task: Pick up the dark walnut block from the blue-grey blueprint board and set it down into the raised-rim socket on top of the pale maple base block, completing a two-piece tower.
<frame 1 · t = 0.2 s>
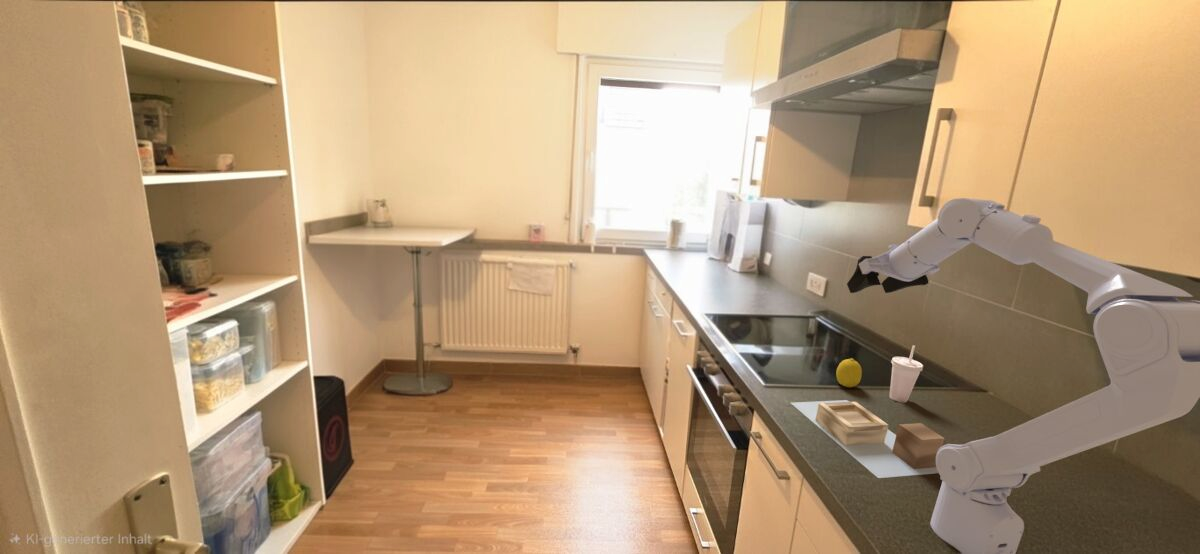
hand: (867, 288, 89), 31 cm above the worktop, tool tilted 45°, fingers open, 7 cm apart
walnut block: (913, 459, 89), point 1 cm above the worktop, touching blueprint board
smoothie: (898, 399, 115), on the worktop
socket base: (848, 431, 97), resting on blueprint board
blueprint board: (859, 436, 96), on the worktop
lemon: (845, 388, 118), on the worktop
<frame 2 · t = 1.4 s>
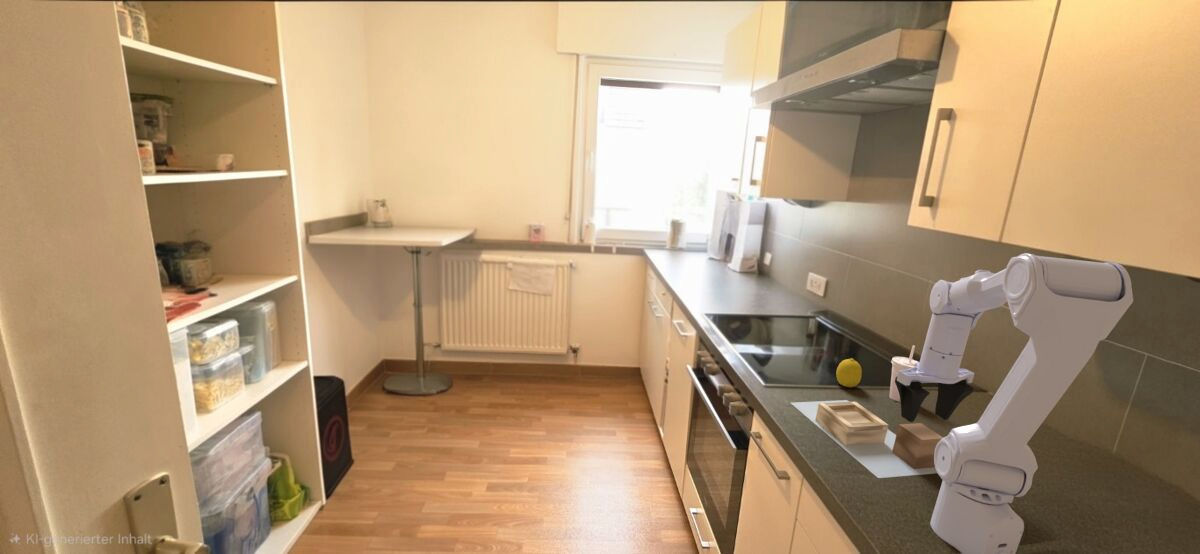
hand: (924, 417, 86), 9 cm above the worktop, tool pointing down, fingers open, 7 cm apart
nothing on the worktop moved.
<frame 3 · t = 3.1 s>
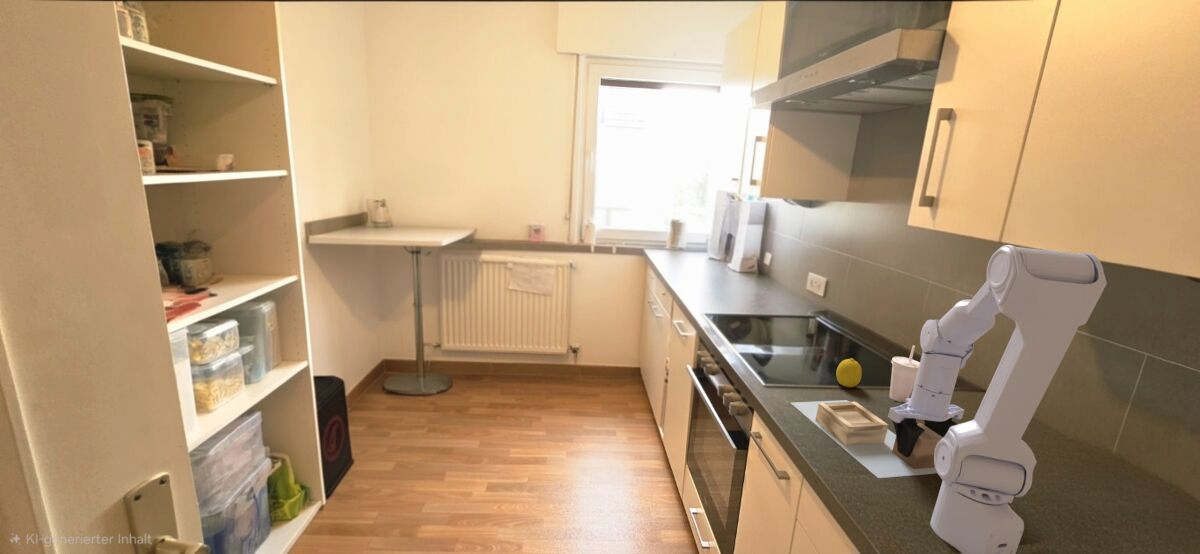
hand: (915, 453, 88), 2 cm above the worktop, tool pointing down, fingers closed on walnut block, 5 cm apart
walnut block: (913, 459, 89), point 1 cm above the worktop, touching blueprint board, gripper
everything else where it was.
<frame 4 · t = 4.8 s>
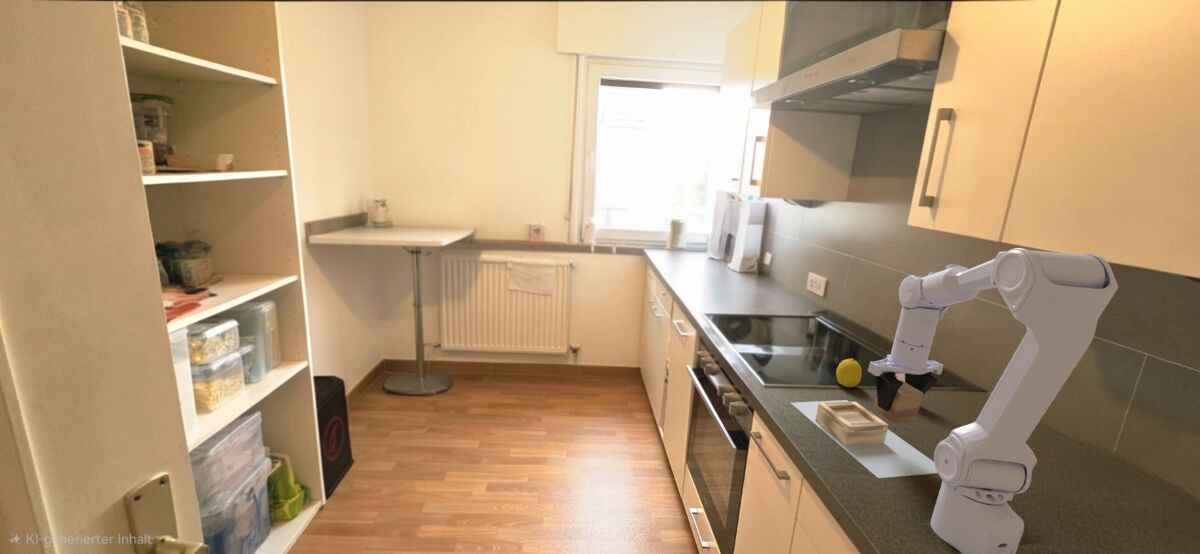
hand: (895, 407, 90), 9 cm above the worktop, tool pointing down, fingers closed on walnut block, 5 cm apart
walnut block: (893, 415, 90), point 8 cm above the worktop, touching gripper
everything else where it was.
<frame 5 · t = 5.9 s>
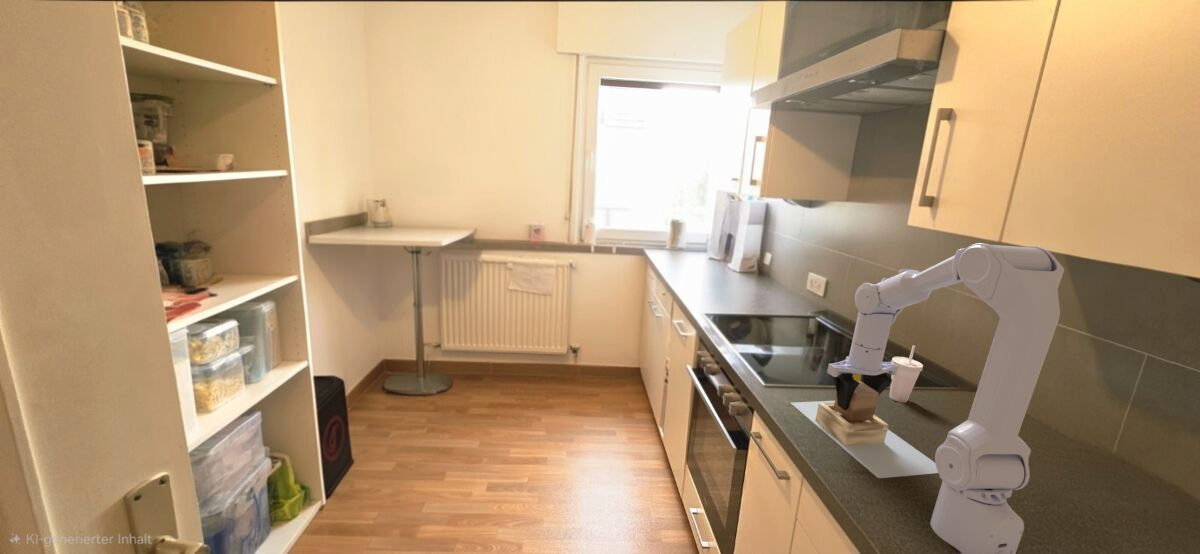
hand: (854, 406, 95), 6 cm above the worktop, tool pointing down, fingers closed on walnut block, 5 cm apart
walnut block: (852, 413, 96), point 5 cm above the worktop, touching gripper
everything else where it was.
when the fingers open (6 cm above the worktop, at t = 6.8 s): walnut block stays where it is, resting on socket base.
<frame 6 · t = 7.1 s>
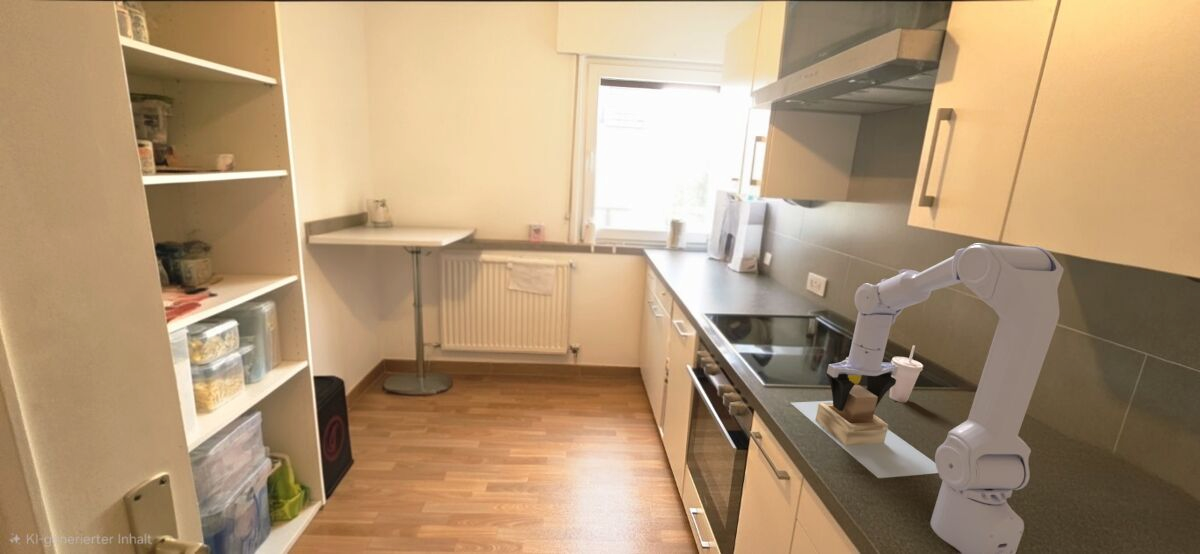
hand: (854, 407, 95), 6 cm above the worktop, tool pointing down, fingers open, 7 cm apart
walnut block: (851, 418, 96), point 4 cm above the worktop, touching socket base
everything else where it was.
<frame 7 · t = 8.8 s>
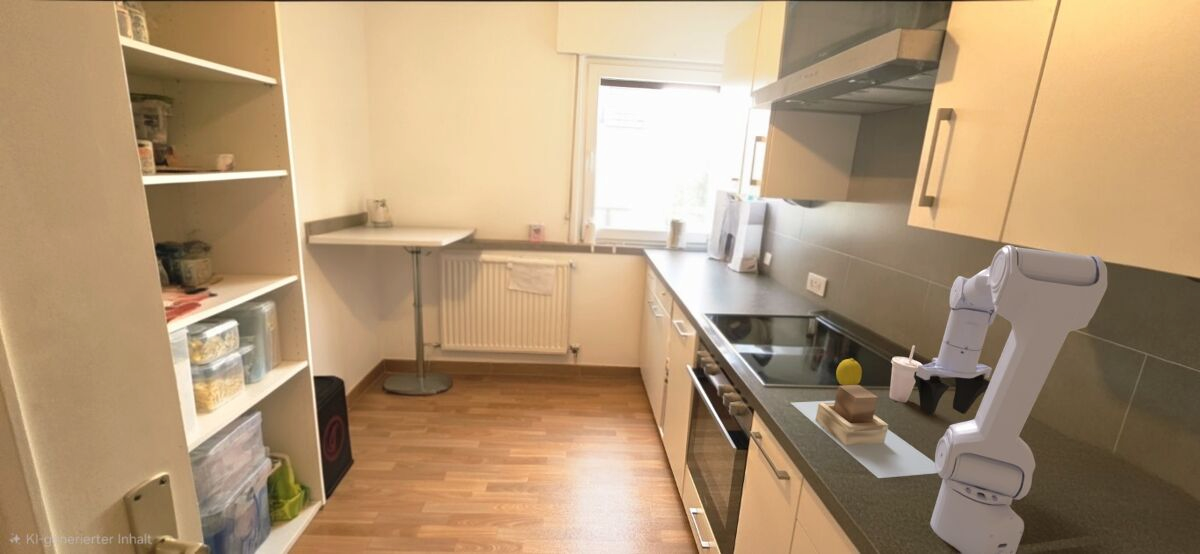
hand: (942, 412, 88), 10 cm above the worktop, tool pointing down, fingers open, 7 cm apart
nothing on the worktop moved.
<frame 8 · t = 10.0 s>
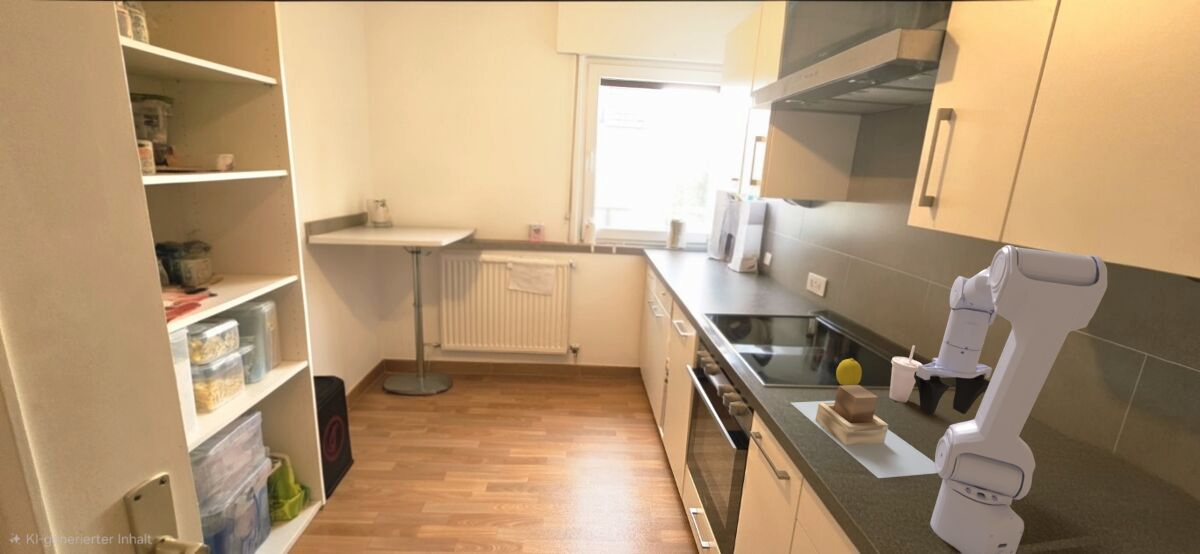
hand: (942, 412, 88), 10 cm above the worktop, tool pointing down, fingers open, 7 cm apart
nothing on the worktop moved.
at the end: walnut block 0.0 cm off-centre on the socket base, point 3.0 cm above the socket base's base; walnut block tilted 0°; the gripper is holding nothing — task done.
